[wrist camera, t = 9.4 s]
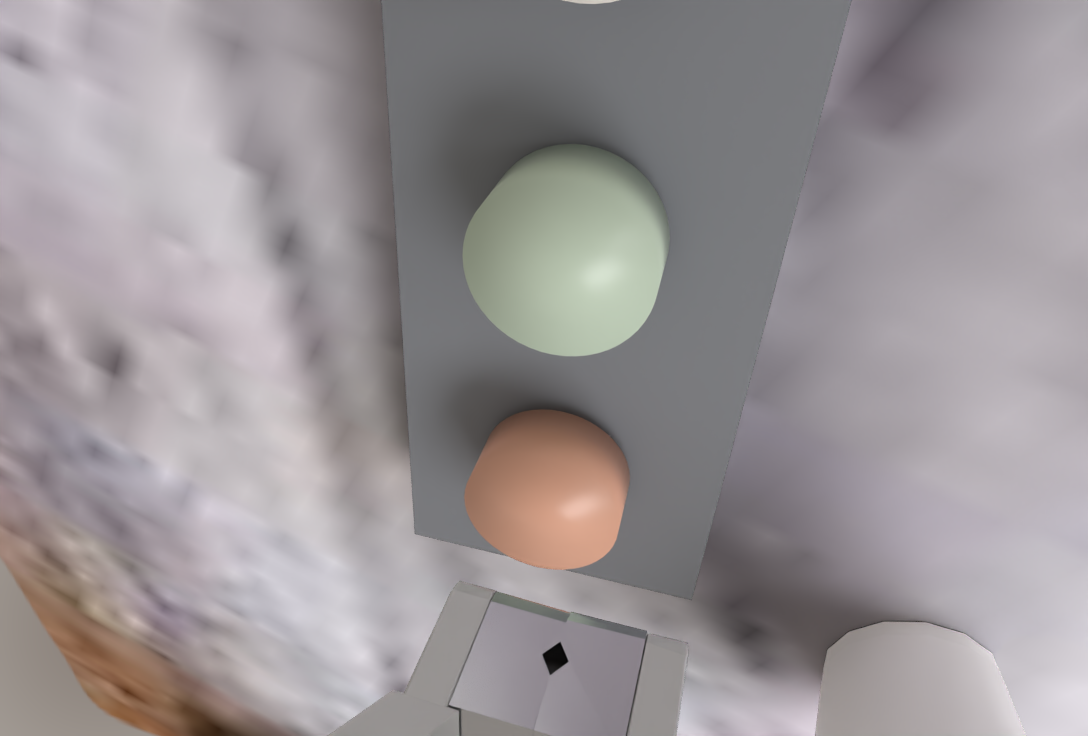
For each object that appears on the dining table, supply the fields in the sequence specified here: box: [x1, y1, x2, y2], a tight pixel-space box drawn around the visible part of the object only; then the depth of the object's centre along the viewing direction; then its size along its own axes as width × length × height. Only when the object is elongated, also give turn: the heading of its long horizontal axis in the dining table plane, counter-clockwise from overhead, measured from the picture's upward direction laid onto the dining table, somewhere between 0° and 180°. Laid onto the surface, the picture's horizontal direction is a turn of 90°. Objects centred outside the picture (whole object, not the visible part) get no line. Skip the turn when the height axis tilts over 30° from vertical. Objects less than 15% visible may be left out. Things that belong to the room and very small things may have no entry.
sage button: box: [462, 144, 670, 356], centre depth 20 cm, size 5×5×5 cm
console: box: [381, 0, 852, 600], centre depth 21 cm, size 10×26×3 cm, turn 177°
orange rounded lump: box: [464, 409, 630, 570], centre depth 25 cm, size 5×5×5 cm
